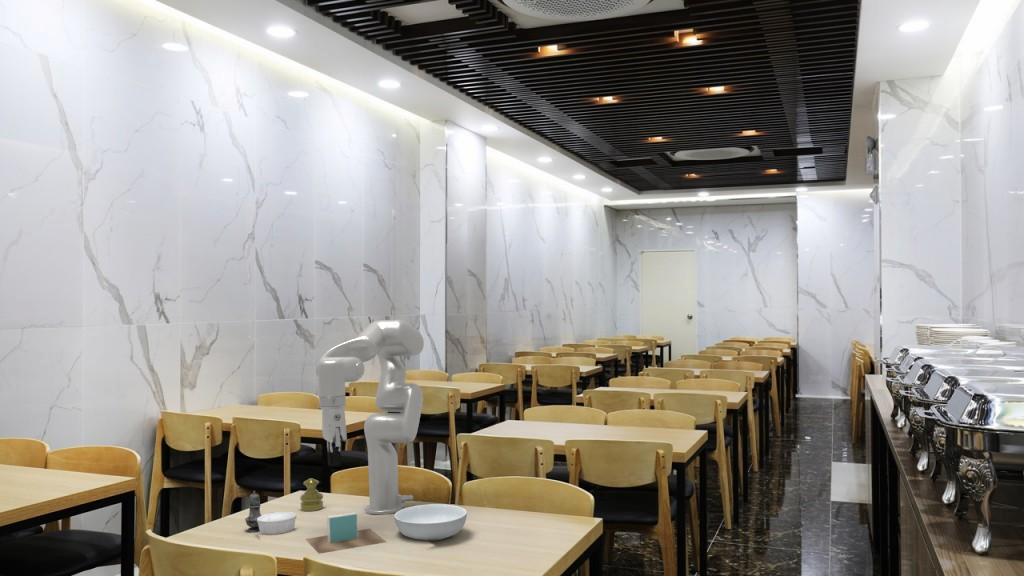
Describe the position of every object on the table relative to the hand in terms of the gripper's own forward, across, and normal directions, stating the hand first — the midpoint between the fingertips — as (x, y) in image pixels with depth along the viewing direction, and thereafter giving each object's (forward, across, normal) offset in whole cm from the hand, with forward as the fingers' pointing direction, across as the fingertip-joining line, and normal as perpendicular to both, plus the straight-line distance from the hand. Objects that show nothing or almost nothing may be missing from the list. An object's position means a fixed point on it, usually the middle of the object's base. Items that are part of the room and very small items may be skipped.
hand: (334, 465), depth 236 cm
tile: (+20, -7, 0) cm, 21 cm away
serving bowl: (+21, -14, -24) cm, 35 cm away
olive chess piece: (+21, +39, -2) cm, 45 cm away
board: (+21, -8, 0) cm, 23 cm away
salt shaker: (+21, +23, +19) cm, 37 cm away
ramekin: (+21, +15, +14) cm, 30 cm away
